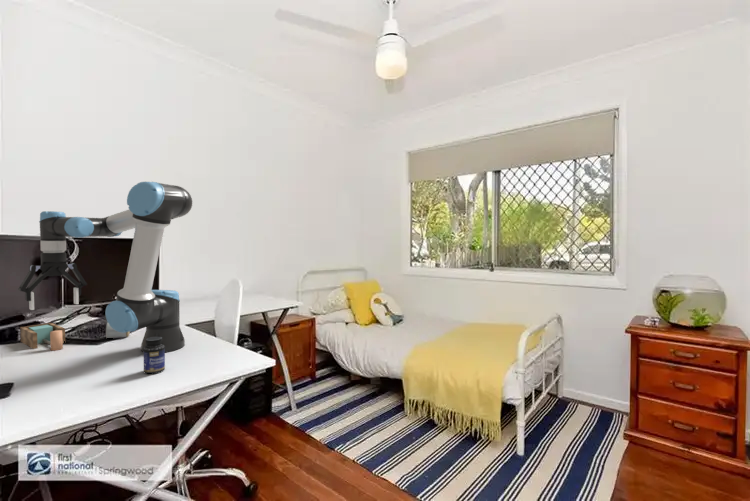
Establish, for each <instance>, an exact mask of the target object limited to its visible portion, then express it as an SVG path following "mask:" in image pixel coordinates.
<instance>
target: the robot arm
mask: <svg viewBox="0 0 750 501" xmlns="http://www.w3.org/2000/svg"><path fill="white" fill-rule="evenodd" d="M126 204H127V206H128V209H125V210H122V211H120V212H117V213H114V214H111V215H108V216H105V217H84V216H67V215H66V213H65V212H64V211H40V214H39V221H38V222H39V238H40V251H41V252H40V265H33V264H31V265H29V270H28V272H27V273H26V276H25V277H24V279H23V281H22V282H21V284H20V285H19V287H18V291H20V292H23V293H25V295H24V296H25V297H24V298H25V301H26V302H28V303H29V304H28V305H29V307H28V308H29V310H30V311H35V293H34V291H33V290H34V289H35V288H36V287H37V286H38V285H39V284H41V282H42V281H43V280H44V279H45V278H47V277H55V276H56V277H59V276H63V277H64V278H65V279H66V280H68V281H69V282H70V283H71V284H73V285H74V286H75V287H73V305H80V304H79V302H80V296H82V288H83V287H85V286H88V283H87V281H86V280H85V279H84V277H83V275H82V274H81V272H80V270H78V265H77V263H74V262H71V263H69V264H68V263H67V261H68V260H67V253H66V252H67V238H76V239H77V238H95V237H96V238H98V237H99V238H102V237H103V238H104V237H107V238H113V237H120V236H121V234H123V233H124V232H126V231H129V230H133V229H134V233H133V234H134V235H133V238H132V243H131V248H130V249H131V250H130V255H129V260H128V265H127V269H126V275H125V280H124V284H123V288H121V289H119V290H118V291H117V293H116V300H113V301H111V302H110V303H108V304H107V305H106V308H105V310H104V311H105V319H106V323H107V322H108V323H109V325H110V326H111V327H112V328H113V329H114V330H115V331H117V332H121V333H125V332H135V331H137V330H140V329H144V328H145V332H144V335H143V338H142V342H141V344H140V348H141V352H143V350H144V347H145V346H147V344H146V339H147V338H151V337H162V342H161V344H163V345H164V346H165V353H167V352H168V353H169V352H173V351H177V350H179V349H182V348H184V347H185V345H186V344H185V343H186V342H185V340H186V339H185V337H184V335H183V334H184V333H183V332H182V329H181V326H180V323H181V322H180V294H179V292H178V291H177V290H171V289H153V285H154V279H155V276H156V271H157V265H158V261H159V255H160V252H161V246H162V242H163V238H164V237H163V236H164V233H165V232H164V231H165V228H167V227H168V226H170V225H171V222H172V220H174V219H177V218H181V217H184V216H186V215H188V214H189V213H190V211H191V210H192V207H193V198H192V195H191V194H190V192H189V191H188V190H187V189H185V188H184V187H182V186H180V185H172V184H166V183H161V182H156V181H141V182H138V183H136V184H135V185H133V186H132V187H131V189H130V190H129V191H128V194H127V198H126ZM68 268H69V269H70V270H72V273H73V274H74V276H75V277H76V279H77V280H78V281H77V280H76V279H75V278H74V277H72V276H71V274H69V273H68V272H67V269H68ZM39 270H40V271H41V272H40V273H39V275H38V276H37V277H36V278H35V279H34V280H33V281H32V279H33V277H34V276H35V274H36V272H39ZM31 281H32V282H31ZM30 282H31V283H30Z"/></svg>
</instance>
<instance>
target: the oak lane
mask: <svg viewBox="0 0 750 501" xmlns="http://www.w3.org/2000/svg"><path fill="white" fill-rule="evenodd" d="M42 325H50V326H52V327H53V331H56V330H62V338H63V344H65V343H64V341H65V342H66V327H63V326H60V325H58V324H55V323H52V322H46V323H40V324H39V323H38V324H32V325H27V326H20V327H19V331H20V332H19V335H20V336H19V337H20V343H23V344H24V345H26V346H27V347H30V348H31V349H33V350H35V349H38V344H37V333H36V332H34V331H32V330H30V329H29V327H36V326H42Z"/></svg>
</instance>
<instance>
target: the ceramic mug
mask: <svg viewBox="0 0 750 501" xmlns="http://www.w3.org/2000/svg"><path fill="white" fill-rule="evenodd" d="M130 332H131V331H130ZM130 332H125V333H121V332H117V331H115V330H114V329H113V328H112V327H111V326H110V325H109V323H108V322H107V321H106V326H105V337H106V339H107V338H113V339H121V338H127V337H129V336H130V335H131V334H130Z"/></svg>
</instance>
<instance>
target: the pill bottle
mask: <svg viewBox="0 0 750 501" xmlns="http://www.w3.org/2000/svg"><path fill="white" fill-rule="evenodd" d="M161 342H162V337H151V338H147V339H146V344H147V346H145V347H144V350H143V351H142V352H143V373H144V372H145V373H144V374H146V373H156V374H158V373H157V372H160V373H162V372H163V371H165V369H166V365H165V364H166V363H165V362H166V358H165V357H166V355H165V354H166V352H165V346H164V345H163V344H161ZM161 371H162V372H161Z"/></svg>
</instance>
